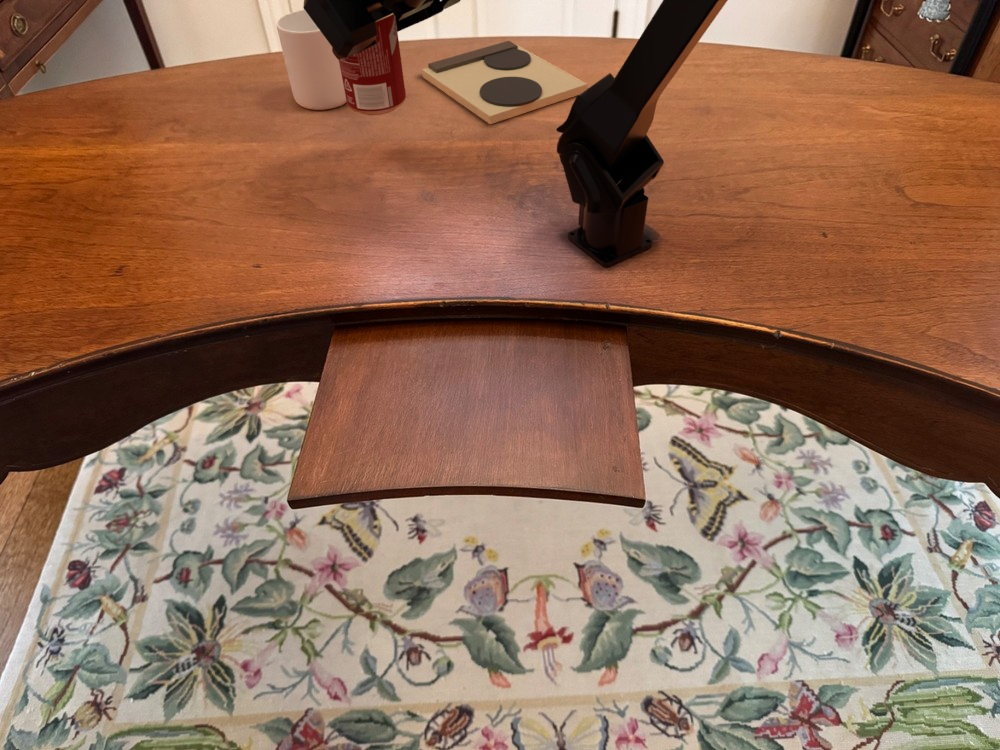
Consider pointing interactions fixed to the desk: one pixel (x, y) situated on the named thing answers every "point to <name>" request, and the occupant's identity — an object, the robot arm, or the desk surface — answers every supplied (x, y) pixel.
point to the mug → (310, 63)
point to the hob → (502, 81)
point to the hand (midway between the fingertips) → (359, 44)
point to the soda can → (375, 73)
